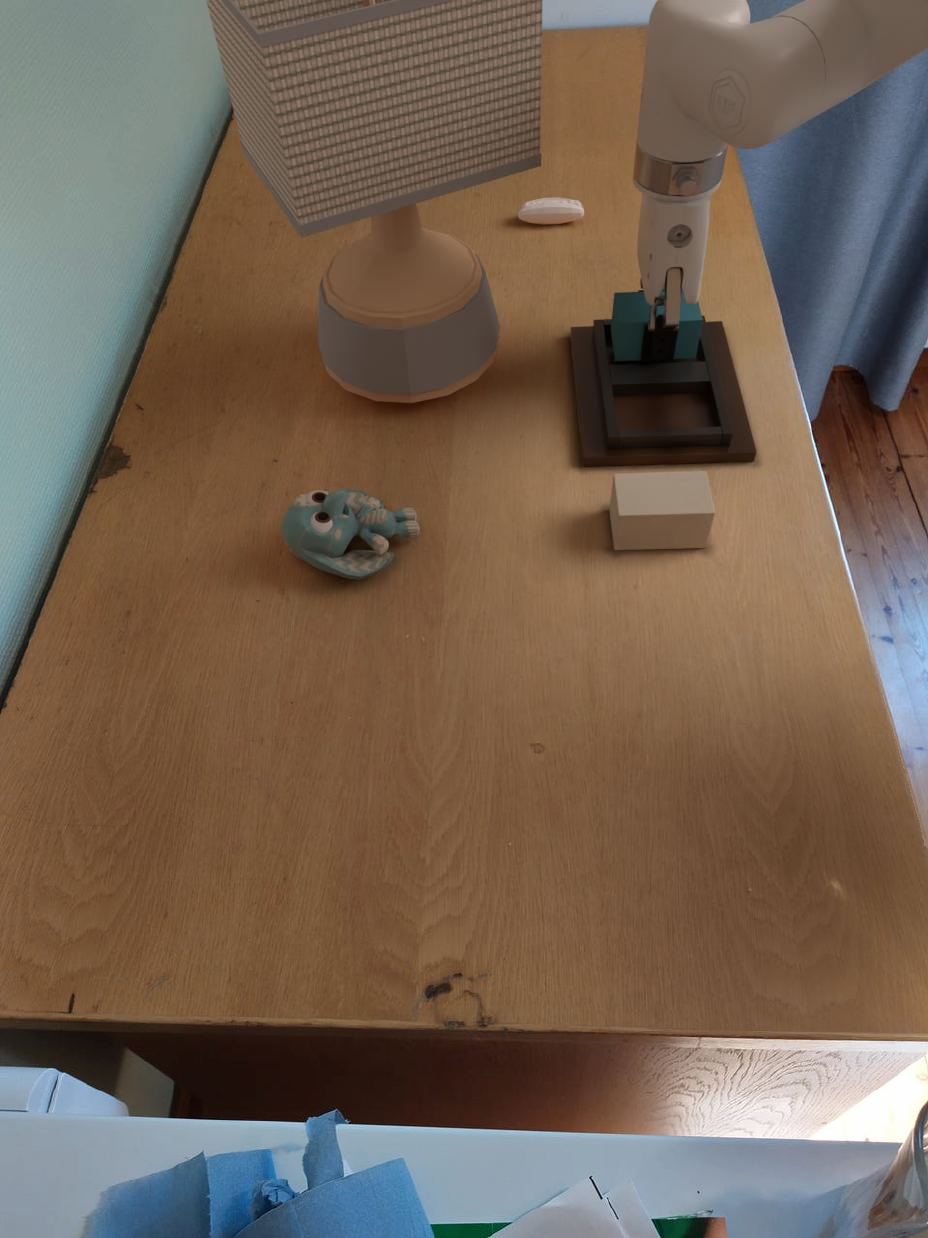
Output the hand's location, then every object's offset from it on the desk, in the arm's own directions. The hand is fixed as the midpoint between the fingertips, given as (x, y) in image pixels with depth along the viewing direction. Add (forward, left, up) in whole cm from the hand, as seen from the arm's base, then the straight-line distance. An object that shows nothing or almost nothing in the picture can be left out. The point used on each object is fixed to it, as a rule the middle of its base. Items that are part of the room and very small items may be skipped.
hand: (653, 340), depth 90 cm
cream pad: (+2, +23, -3) cm, 23 cm away
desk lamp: (+25, -2, -3) cm, 25 cm away
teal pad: (0, 0, 0) cm, 0 cm away
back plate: (0, +5, -3) cm, 6 cm away
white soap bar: (+9, -28, -3) cm, 30 cm away
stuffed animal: (+29, +24, -3) cm, 38 cm away
